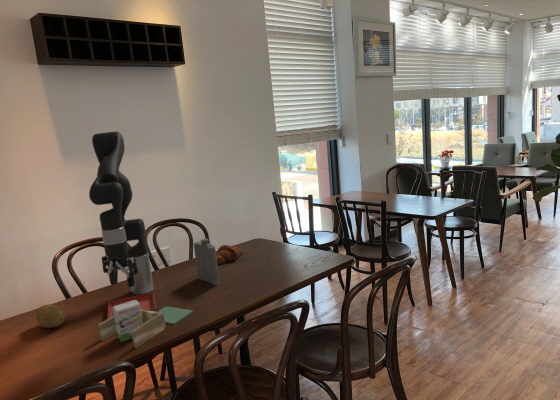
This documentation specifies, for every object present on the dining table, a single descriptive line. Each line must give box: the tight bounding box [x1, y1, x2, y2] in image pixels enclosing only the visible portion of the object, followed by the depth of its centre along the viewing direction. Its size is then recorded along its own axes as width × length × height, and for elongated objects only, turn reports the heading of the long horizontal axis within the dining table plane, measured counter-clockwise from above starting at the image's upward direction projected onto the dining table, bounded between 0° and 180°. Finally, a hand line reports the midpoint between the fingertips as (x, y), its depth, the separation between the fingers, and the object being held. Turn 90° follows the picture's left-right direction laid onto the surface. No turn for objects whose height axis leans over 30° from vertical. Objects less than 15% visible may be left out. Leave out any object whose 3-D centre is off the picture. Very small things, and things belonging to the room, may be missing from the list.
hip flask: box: [193, 238, 221, 286], centre depth 198 cm, size 16×4×20 cm, turn 41°
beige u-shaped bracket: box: [97, 309, 167, 349], centre depth 154 cm, size 17×14×6 cm
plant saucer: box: [107, 292, 157, 319], centre depth 175 cm, size 18×18×3 cm
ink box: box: [113, 300, 143, 343], centre depth 152 cm, size 8×5×12 cm, turn 124°
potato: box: [35, 303, 67, 329], centre depth 167 cm, size 10×14×8 cm
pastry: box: [216, 244, 243, 266], centre depth 229 cm, size 17×15×8 cm
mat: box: [157, 305, 194, 326], centre depth 167 cm, size 14×11×1 cm
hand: (122, 285), depth 150 cm, fingers open, 8 cm apart
